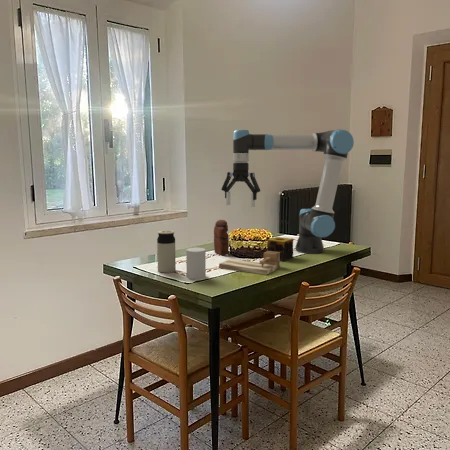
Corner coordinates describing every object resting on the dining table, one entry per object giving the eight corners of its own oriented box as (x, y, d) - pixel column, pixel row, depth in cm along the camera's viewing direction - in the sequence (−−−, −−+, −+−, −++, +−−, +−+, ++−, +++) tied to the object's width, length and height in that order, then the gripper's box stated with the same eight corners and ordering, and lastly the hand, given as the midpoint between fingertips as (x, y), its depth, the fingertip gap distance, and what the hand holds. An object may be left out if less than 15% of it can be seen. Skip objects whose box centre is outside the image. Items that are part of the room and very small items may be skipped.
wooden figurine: (231, 255, 236) (232, 220, 233) (220, 256, 233) (220, 221, 231) (222, 250, 247) (222, 217, 244) (211, 251, 244) (211, 218, 241)
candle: (283, 261, 222) (284, 241, 221) (265, 259, 229) (266, 239, 227) (293, 258, 231) (294, 238, 229) (276, 255, 237) (276, 236, 235)
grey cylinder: (191, 273, 200) (191, 246, 198) (208, 275, 197) (208, 248, 195) (183, 278, 193) (183, 250, 191) (200, 280, 190) (200, 252, 188)
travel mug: (178, 269, 207) (178, 230, 204) (170, 273, 200) (170, 233, 197) (162, 267, 210) (162, 229, 207) (154, 272, 203) (153, 232, 200)
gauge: (267, 265, 216) (268, 250, 215) (279, 266, 213) (279, 252, 212) (255, 271, 204) (255, 256, 203) (267, 273, 201) (267, 257, 200)
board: (230, 262, 220) (230, 258, 219) (276, 269, 208) (276, 265, 208) (219, 267, 210) (219, 263, 210) (266, 274, 199) (266, 270, 198)
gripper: (214, 162, 223) (214, 205, 227) (261, 162, 211) (260, 208, 215) (222, 161, 230) (222, 203, 233) (267, 162, 218) (266, 206, 221)
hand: (240, 205), depth 224 cm, fingers open, 13 cm apart
